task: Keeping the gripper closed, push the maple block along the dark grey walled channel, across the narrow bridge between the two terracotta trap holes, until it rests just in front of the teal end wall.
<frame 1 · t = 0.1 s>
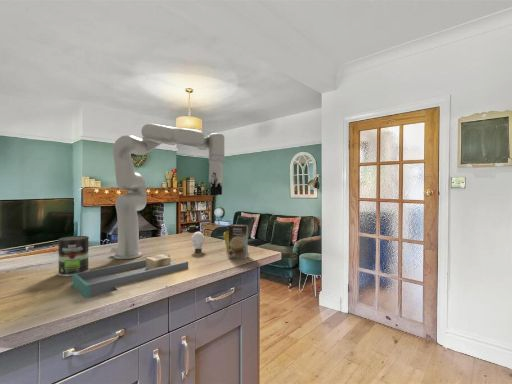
hand: (216, 194, 130), 31 cm above the worktop, tool pointing down, fingers open, 9 cm apart
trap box: (102, 285, 94), on the worktop
coffee box: (238, 257, 134), on the worktop
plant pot: (233, 250, 148), on the worktop
light bulb: (197, 252, 144), on the worktop
maple block: (158, 268, 110), point 1 cm above the worktop, touching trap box
coffee can: (74, 272, 109), on the worktop
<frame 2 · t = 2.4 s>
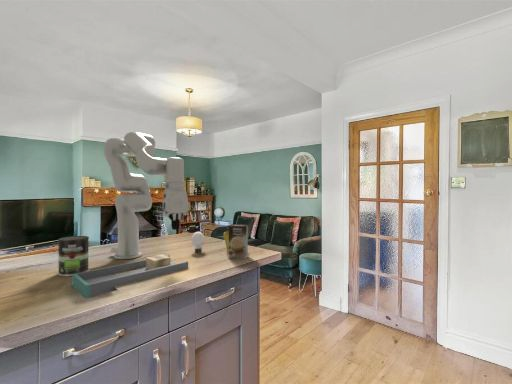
hand: (175, 229, 115), 17 cm above the worktop, tool pointing down, fingers closed
nothing on the worktop moved.
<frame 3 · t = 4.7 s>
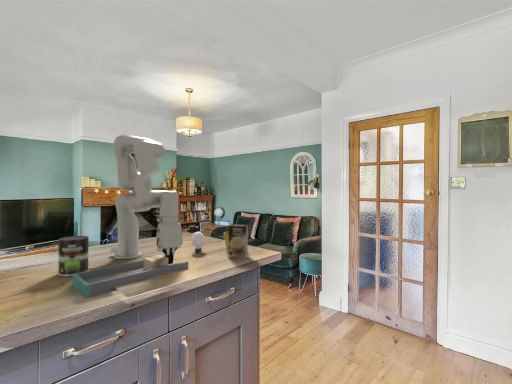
hand: (169, 263, 113), 3 cm above the worktop, tool pointing down, fingers closed
maple block: (156, 269, 109), point 2 cm above the worktop, touching gripper
everything else where it was.
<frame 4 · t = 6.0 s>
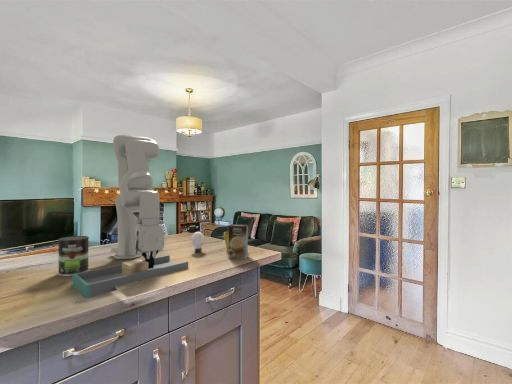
hand: (149, 267, 107), 3 cm above the worktop, tool pointing down, fingers closed
maple block: (135, 274, 102), point 2 cm above the worktop, touching gripper
everything else where it was.
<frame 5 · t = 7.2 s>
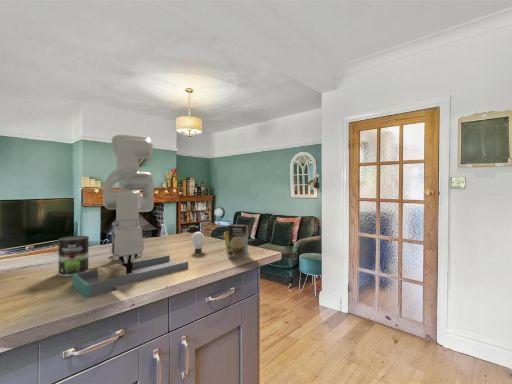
hand: (127, 272, 101), 3 cm above the worktop, tool pointing down, fingers closed
maple block: (111, 280, 96), point 2 cm above the worktop, touching gripper, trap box
everything else where it was.
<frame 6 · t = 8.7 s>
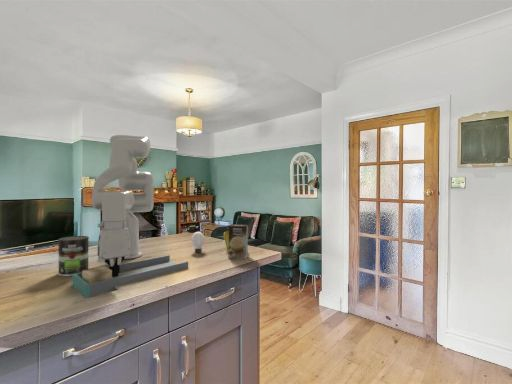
hand: (114, 275, 97), 3 cm above the worktop, tool pointing down, fingers closed
maple block: (97, 283, 92), point 1 cm above the worktop, touching gripper, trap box
everything else where it was.
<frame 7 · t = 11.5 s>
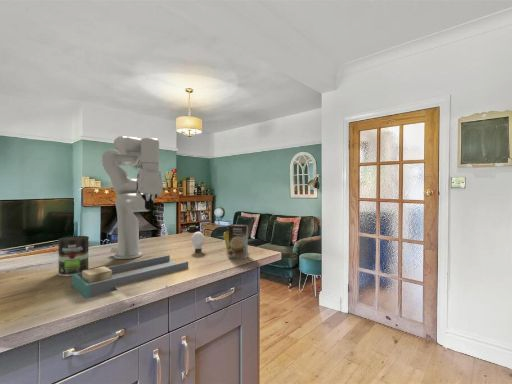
hand: (148, 209, 116), 25 cm above the worktop, tool pointing down, fingers closed
maple block: (97, 283, 92), point 1 cm above the worktop, touching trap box
everything else where it was.
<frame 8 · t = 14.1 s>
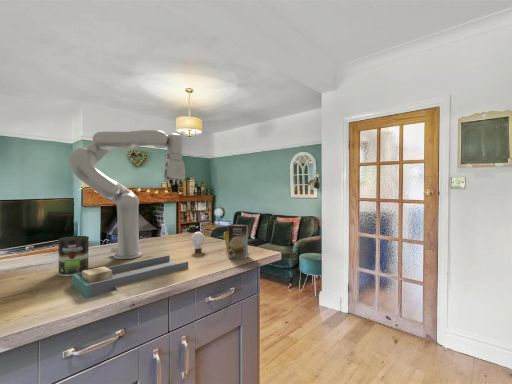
hand: (174, 192, 142), 32 cm above the worktop, tool pointing down, fingers closed
nothing on the worktop moved.
at the end: maple block 2.0 cm from the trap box (horizontally); maple block tilted 0°; maple block point 1.5 cm above the worktop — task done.
